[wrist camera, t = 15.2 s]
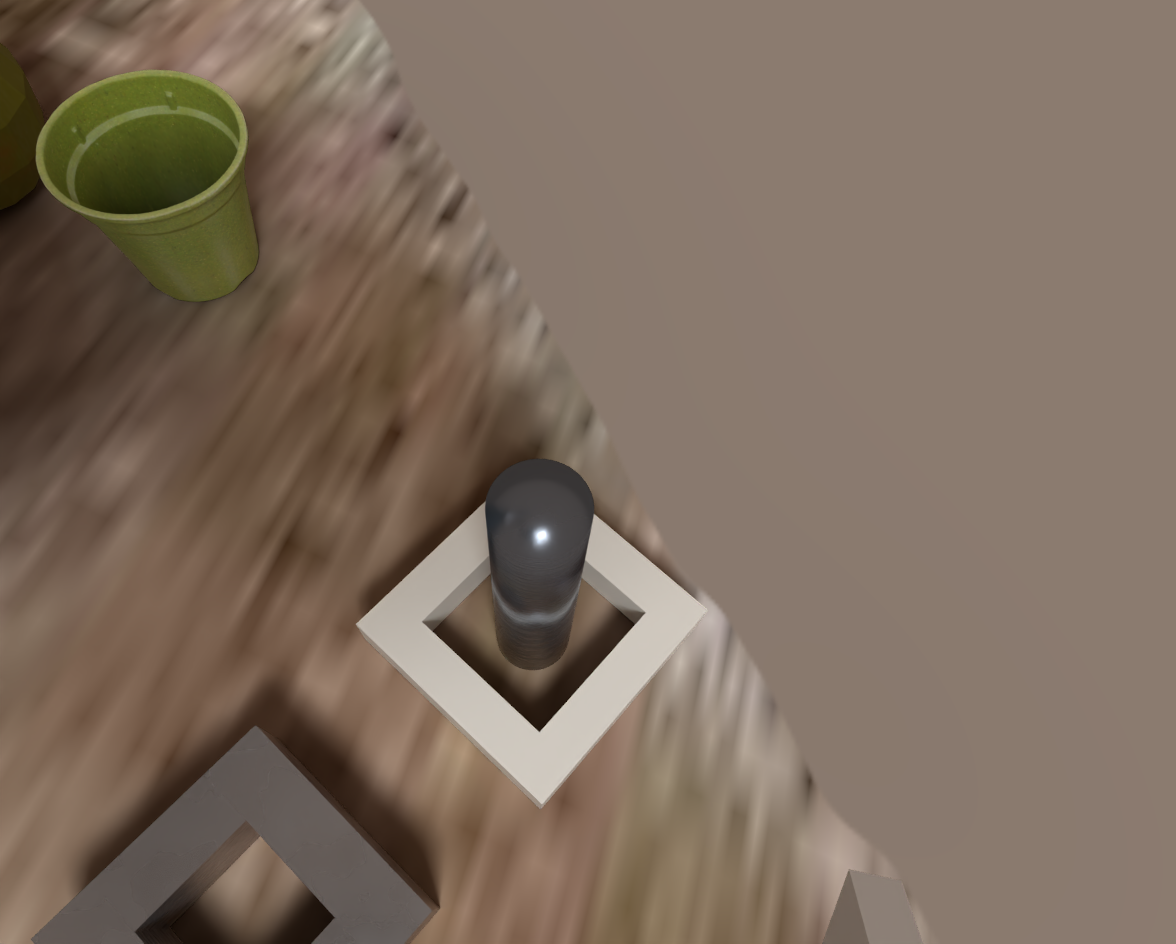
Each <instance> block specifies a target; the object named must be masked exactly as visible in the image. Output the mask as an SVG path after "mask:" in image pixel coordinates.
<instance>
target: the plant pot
mask: <svg viewBox="0 0 1176 944" xmlns="http://www.w3.org/2000/svg"><path fill="white" fill-rule="evenodd" d="M248 141H249V139H248V129H247V125H246V121H245V118H244V116H243V113H242V111H241V109H240V108H239V106H238V105H237V103H236V102H235V101H234V100H233V99H232V97H231V96H230V95H228V94H227V93H226V92H225V91H224V90H223V89H221V88H220V87H218V86H217V85H215V84H213V83H211V82H209V81H208V80H205V79H203V78H200V77H197V76H194V75H191V74H187V73H182V72H178V71H168V70H142V71H135V72H128V73H125V74H119V75H115V76H112V77H109V78H105V79H104V80H101V81H98V82H96V83H94V84H91V85H89V86H87V87H85V88H83V89H82V90H80V91H78V92H77V93H75V94H73V95H72V96H71V97H70V98H68V99H67V100H66V101H64V102H63V103H62V104H61V105H59V107H58V108H57V109H56V110H55V111H54V112H53V114H52V115H51V116H50V118H49V120H48V121H47V122H46V124H45V125H44V127H43V129H42V131H41V132H40V135H39V137H38V140H37V145H36V165H37V169H38V173H39V175H40V178H41V180H42V181H43V183H44V185H45V186H46V188H47V189H48V190H49V191H50V193H51V194H52V195H53V196H54V197H55V198H56V199H57V200H58V201H59V202H60V203H62V204H63V205H64V206H66V207H67V208H69V209H71V210H72V211H74V212H76V213H78V214H81V215H82V216H83V217H85V218H86V219H87V220H89V221H90V222H92V223H94V224H96V225H97V226H98V227H99V228H100V229H101V230H102V231H103V232H104V233H105V234H106V235H107V236H108V238H109V239H110V240H111V241H112V242H113V243H114V244H115V245H116V246H117V247H118V248H119V249H120V250H121V251H122V252H123V253H124V254H125V255H126V257H127V258H128V259H129V260H130V261H131V262H132V263H133V264H134V265H135V266H136V267H137V268H138V270H139V271H140V272H141V273H142V274H143V275H144V276H145V277H146V278H147V279H148V280H149V281H150V283H151V284H152V285H153V286H154V287H156V288H157V289H159V290H160V291H162V292H164V293H166V294H167V295H169V296H171V297H173V298H175V299H178V300H183V301H192V302H201V301H207V300H213V299H216V298H219V297H222V296H224V295H227V294H229V293H231V292H232V291H234V290H235V289H236V288H237V286H238V285H239V284H240V283H241V282H242V281H243V280H244V279H245V278H246V277H247V276H248V275H249V274H250V273H252V272H253V271H254V269H255V267H256V264H257V261H258V255H259V249H258V243H257V238H256V233H255V228H254V223H253V219H252V214H251V209H250V203H249V198H248V193H247V187H246V182H245V176H244V169H245V157H246V154H247V150H248Z"/></svg>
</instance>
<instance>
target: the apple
mask: <svg viewBox="0 0 1176 944" xmlns="http://www.w3.org/2000/svg"><path fill="white" fill-rule="evenodd" d="M43 127H44V118H43V112H42V110H41V107H40V105H39V103H38V101H37V99H36V97H35V95H34V93H33V91H32V89H31V87H30V85H29V82H28V80H27V78H26V76H25V74H24V72H23V70H22V69H21V67H20V66H19V64H18V63H17V61H16V60H15V59H14V57H13V56H12V54H11V53H10V51H9V50H8V49H7V48H6V47H5V46H3V45H2V44H1V43H0V210H1V209H4V208H6V207H9V206H11V205H14V204H16V203H17V202H18V201H19V200H21V199H22V198H23V197H24V196H25V195H27V194H28V193H29V192H30V191H32V190H33V189H34V188H35V187H36V185H37V182H38V180H39V178H40V175H39V173H38V169H37V165H36V145H37V140H38V137H39V135H40V132H41V131H42V129H43Z"/></svg>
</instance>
